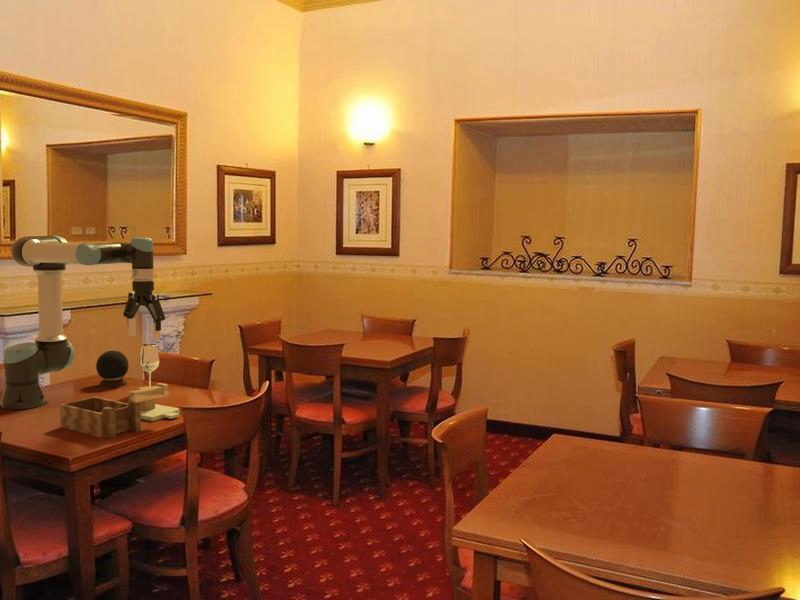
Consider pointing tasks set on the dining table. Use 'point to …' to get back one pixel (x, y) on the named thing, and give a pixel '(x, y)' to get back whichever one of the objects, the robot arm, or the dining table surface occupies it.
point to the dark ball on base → (112, 369)
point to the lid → (156, 410)
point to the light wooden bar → (148, 393)
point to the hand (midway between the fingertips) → (144, 337)
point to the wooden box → (100, 416)
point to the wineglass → (149, 359)
